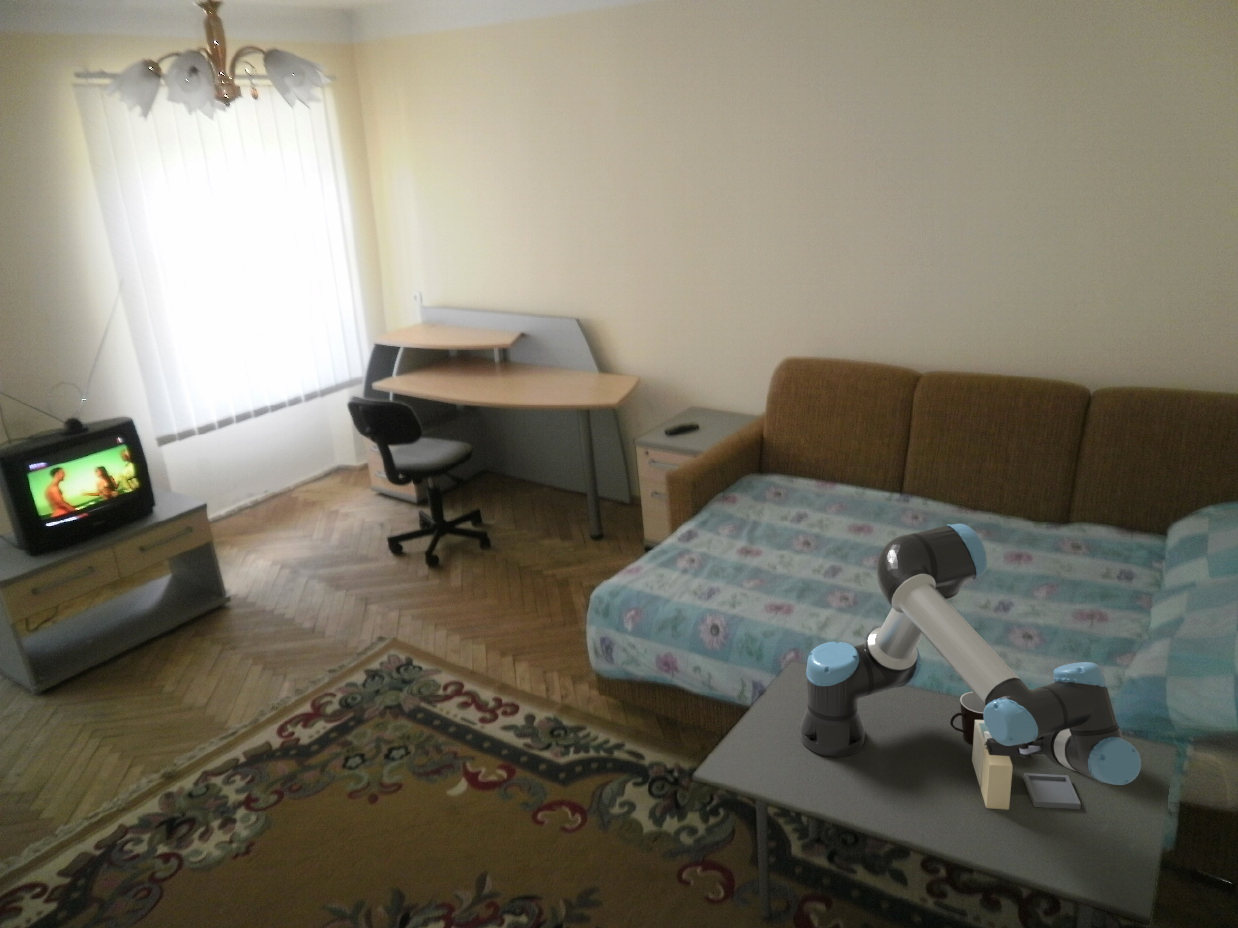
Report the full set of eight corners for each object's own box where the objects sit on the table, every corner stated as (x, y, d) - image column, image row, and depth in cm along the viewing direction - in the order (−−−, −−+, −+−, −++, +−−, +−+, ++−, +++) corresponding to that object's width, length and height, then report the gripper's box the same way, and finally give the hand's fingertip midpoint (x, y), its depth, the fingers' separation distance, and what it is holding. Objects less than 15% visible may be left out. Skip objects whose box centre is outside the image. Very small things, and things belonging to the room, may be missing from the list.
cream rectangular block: (986, 807, 188) (989, 764, 185) (980, 790, 194) (984, 747, 190) (1008, 809, 188) (1012, 765, 184) (1002, 791, 193) (1006, 748, 189)
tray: (1034, 806, 188) (1034, 801, 187) (1023, 778, 196) (1023, 772, 196) (1080, 809, 186) (1080, 803, 186) (1067, 780, 194) (1068, 775, 194)
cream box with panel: (980, 787, 194) (983, 744, 191) (972, 760, 203) (974, 718, 199) (1001, 788, 194) (1005, 745, 190) (992, 761, 202) (996, 719, 198)
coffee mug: (991, 727, 214) (993, 691, 210) (1002, 749, 205) (1005, 713, 202) (940, 727, 215) (942, 691, 212) (949, 749, 207) (952, 713, 203)
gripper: (1012, 785, 159) (965, 763, 180) (1145, 753, 160) (1082, 735, 181) (1000, 742, 160) (955, 725, 181) (1132, 711, 161) (1072, 697, 182)
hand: (1018, 730), depth 181 cm, fingers open, 13 cm apart
